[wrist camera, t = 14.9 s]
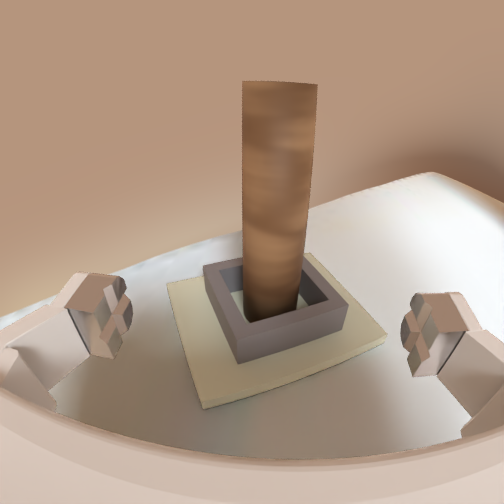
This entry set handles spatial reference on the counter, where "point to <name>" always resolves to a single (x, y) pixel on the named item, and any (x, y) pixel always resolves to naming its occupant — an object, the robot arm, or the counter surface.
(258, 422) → the counter surface
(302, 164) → the walnut dowel
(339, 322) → the dowel holder
